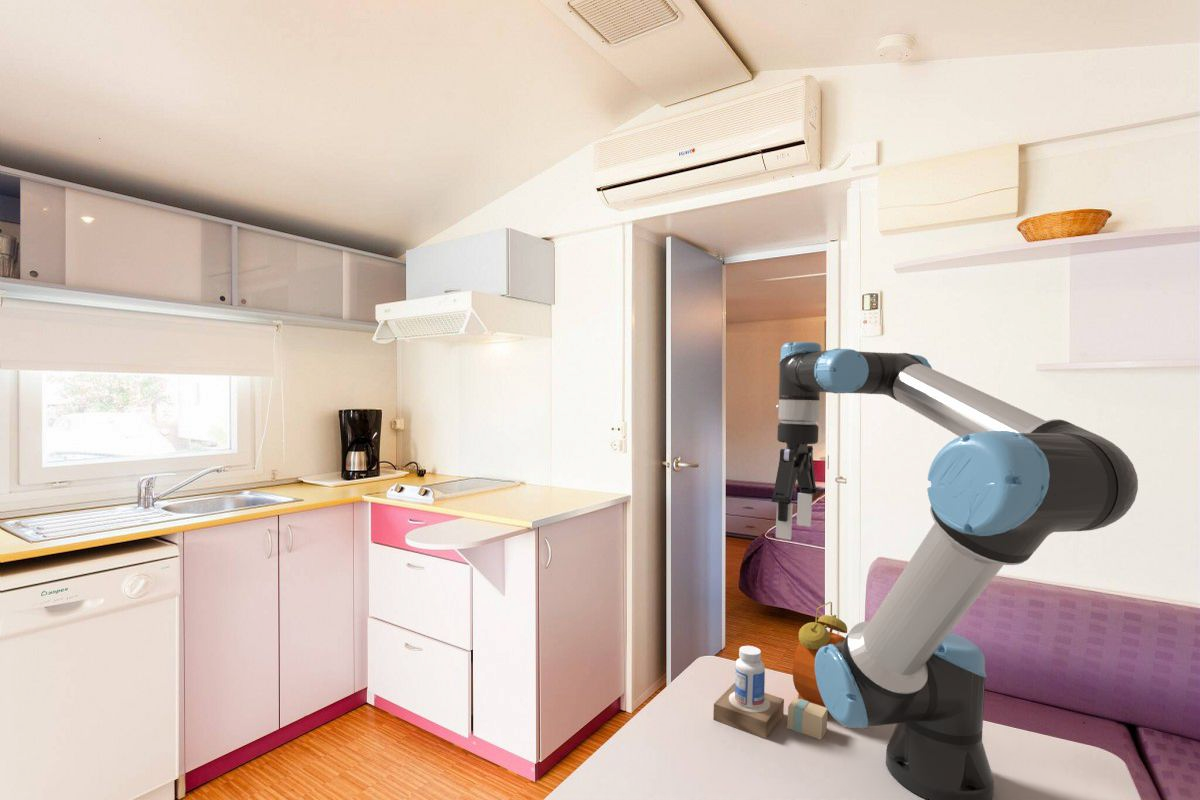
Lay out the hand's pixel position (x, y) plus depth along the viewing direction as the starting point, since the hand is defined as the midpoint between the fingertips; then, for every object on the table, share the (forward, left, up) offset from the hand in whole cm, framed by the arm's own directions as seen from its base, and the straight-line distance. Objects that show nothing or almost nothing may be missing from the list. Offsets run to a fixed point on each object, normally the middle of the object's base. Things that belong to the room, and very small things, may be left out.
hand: (794, 531), depth 115 cm
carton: (-5, +5, -35) cm, 35 cm away
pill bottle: (+5, +8, -32) cm, 33 cm away
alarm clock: (-5, -5, -35) cm, 36 cm away
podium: (+5, +8, -35) cm, 36 cm away
